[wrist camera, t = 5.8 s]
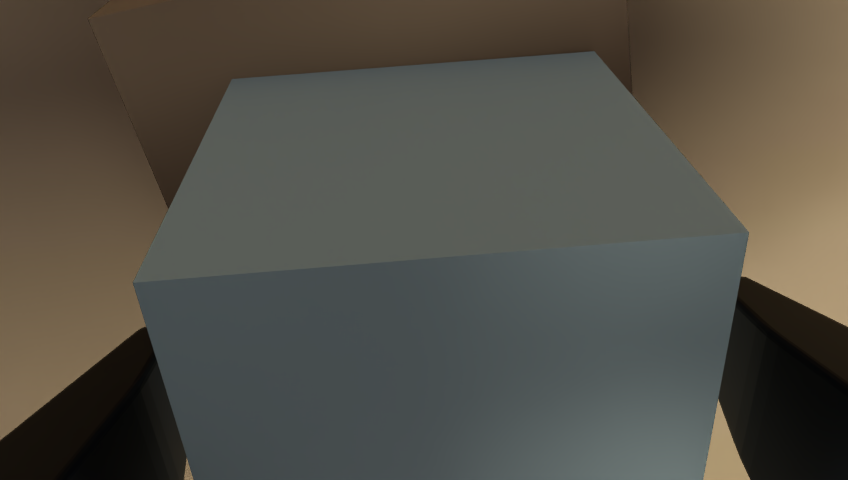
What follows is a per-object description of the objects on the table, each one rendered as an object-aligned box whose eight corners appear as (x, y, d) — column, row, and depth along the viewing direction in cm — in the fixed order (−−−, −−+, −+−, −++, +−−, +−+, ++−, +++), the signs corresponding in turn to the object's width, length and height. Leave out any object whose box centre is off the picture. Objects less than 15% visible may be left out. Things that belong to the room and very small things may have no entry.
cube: (578, 337, 13) (679, 605, 9) (287, 361, 13) (244, 646, 9) (594, 51, 10) (748, 232, 6) (231, 79, 10) (131, 282, 6)
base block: (588, 220, 17) (646, 332, 13) (277, 283, 17) (253, 409, 13) (553, -128, 13) (621, -100, 10) (160, -40, 13) (87, 18, 10)
